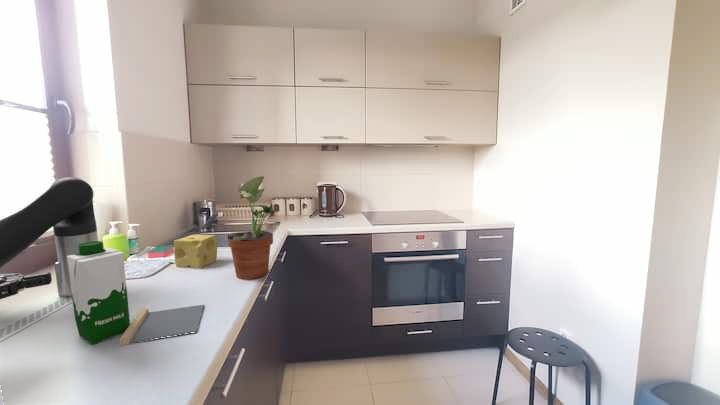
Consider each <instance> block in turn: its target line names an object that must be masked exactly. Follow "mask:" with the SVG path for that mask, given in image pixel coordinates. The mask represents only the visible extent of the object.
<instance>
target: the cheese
mask: <svg viewBox="0 0 720 405" xmlns="http://www.w3.org/2000/svg"><path fill="white" fill-rule="evenodd" d="M173 251H174V252H173V253H174V262H175V266H176V268H189V267H190V268H192V269H202V268H203V267H205V266H207V265H209V264H211V263H215V262H216V261H217V258H218V257H217V256H218V241H217V236H216V234H209V235H208V234H191V235H188V236H185V237H182V238H178V239H175V240H173Z"/></svg>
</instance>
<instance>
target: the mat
mask: <svg viewBox="0 0 720 405" xmlns="http://www.w3.org/2000/svg"><path fill="white" fill-rule="evenodd" d="M203 308H205V304H199V305H191V306H183V307H177V308H171V309H170V308H169V309H164V310H157V311H149V307H147V308H141V309H140V310H139V312H138V313H137V314H136V316H135V317H134V318H133V319H132V321H131V322H130V325H129V327H128V328H127V329H126V331H125V332H124V333H122V335H121V337H120V338H119V343H120V346H125V345H126V344H127V345H132V344H131V343H133V344H136V343H135V342H139V343H141V342H140V341H145V342H147V341H146V340H151V339H155V338H161V337H167V336H174V335H179V334H185V333H191V332H196V331H197V332H198V329H197V327H198V328H199V326H198V324H199V325H200V322H199V321H201V319H200V318H202V316H201V314H202V315H203V312H204V309H203ZM202 311H203V312H202ZM151 341H152V340H151Z"/></svg>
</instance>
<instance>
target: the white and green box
mask: <svg viewBox="0 0 720 405" xmlns="http://www.w3.org/2000/svg"><path fill="white" fill-rule="evenodd" d="M67 260H68V268H69V275H70V284H71V292H72V296H71V298H72V304H73V306H72V307H73V314H74V321H75V325H76V327H77V328H76V329H77V331H78V336H80V338H82V339H84V340H85V341H86V342H88V343H89V344H91V346H92V345H93V346H94V345H96V344H99V343H101V342H104V341H107V340H109V339H112V338H113V337H116V336H119V335H121V334H122V335H123V334H124V332H125V331H126V329H127V328H128V327H129V325H130V324H131V322H130V318H131V317H130V311H129V310H130V309H129V298H128V297H129V296H128V288H127V280H126V278H127V277H126V270H125V252H122V251H120V250H119V249H115V248H111V247H106V248H104V243H103V241H102V240H101V241H100V240H98V241H93V242H86V243H82V244H79V253H77V254H74V255H69V256H67Z"/></svg>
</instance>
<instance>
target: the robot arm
mask: <svg viewBox="0 0 720 405" xmlns="http://www.w3.org/2000/svg"><path fill="white" fill-rule="evenodd" d="M93 199H94V189H93V188H92V186H91V185H90V184H89V183H88V182H87V181H85V180H84V179H81V178H79V177H74V176H66V177H65V176H64V177H61V178H59V179H56V180H55V181H54V182H53V183H52V184H51V185H50V187H49V188H48V189H47V190H46V191H44V193H42V194H40V196H39V197H37V198H36V199H35V200H34V201H32V202H31V203H30V204H28V205H27V206H24V208H22V209H20V210H18V211H17V212H15V213H12V214H11V215H9V216H6V217H4V218H2V219H0V269H1V268H2V267H4V266H5V265H6V264H8V263H9V262H11V261H12V260H13V259H14V258H16V257H18V256H19V255H20V254H21V253H23V252H24V251H25V250H26V249H28V248H29V247H30V246H31V245H32V244H34V243H35V242H36V241H37V240H38V239H39V238H40V237H42V236H43V235H44V234H45V233H46V232H47V231H49V230H51V228H53V235H54V240H55V249H56V250H55V251H56V257H57V261H56V262H55V263H54V264H53V265H54V271H55V280H56V286H57V294H58V297H60V296H66V297H72V292H71V284H70V275H69V268H68V260H67V256H69V255H74V254H77V253H79V244H82V243H86V242H93V241H99V237H98V227H97V221H96V216H95V209H94V208H95V207H94V202H93ZM52 281H53V279H52V273H51V272H50V271H47V272H40V273H35V274H28V275H25V274H22V273H21V272H20V273H17V272H16V273H0V300H2V299H5V298H9V297H12V296H15V295H18V294H19V292H22V291H25V290H26V289H32V288H36V287H41V286H47V285H50V284H51V283H52Z"/></svg>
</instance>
